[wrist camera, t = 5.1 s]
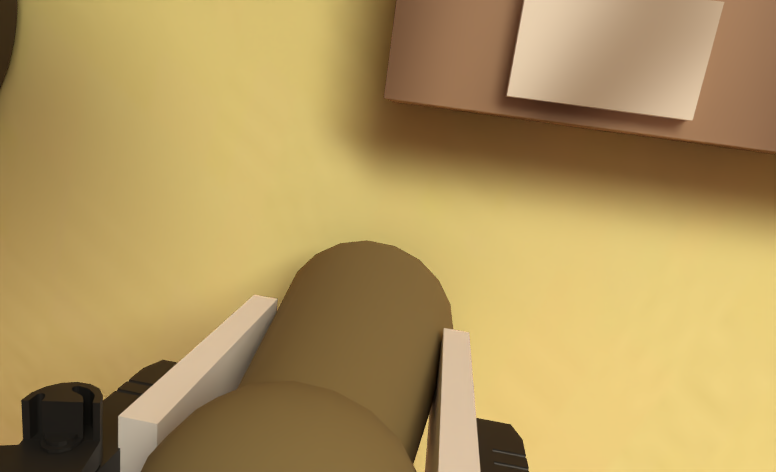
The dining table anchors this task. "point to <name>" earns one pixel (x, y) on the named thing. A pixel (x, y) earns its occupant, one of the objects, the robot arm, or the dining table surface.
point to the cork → (329, 374)
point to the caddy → (596, 65)
